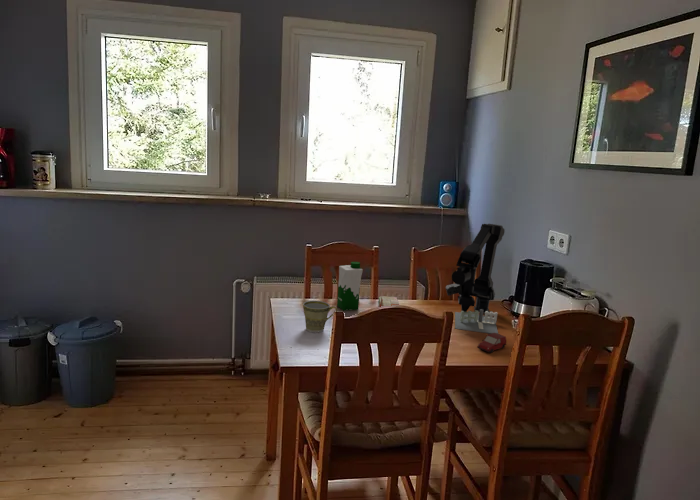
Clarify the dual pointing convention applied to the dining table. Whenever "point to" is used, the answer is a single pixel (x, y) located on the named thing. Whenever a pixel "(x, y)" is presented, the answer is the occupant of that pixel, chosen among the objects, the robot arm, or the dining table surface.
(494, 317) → the fixed fence panel
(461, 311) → the hinged fence panel
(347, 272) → the milk carton
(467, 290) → the robot arm
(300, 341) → the dining table surface
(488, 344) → the red toy car
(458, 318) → the mat
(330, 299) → the dining table surface
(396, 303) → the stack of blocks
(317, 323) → the ceramic cup
